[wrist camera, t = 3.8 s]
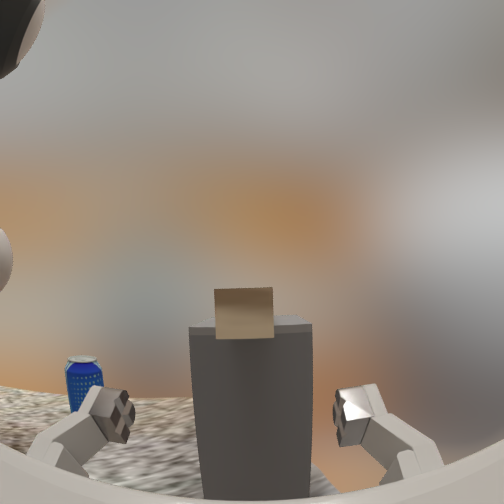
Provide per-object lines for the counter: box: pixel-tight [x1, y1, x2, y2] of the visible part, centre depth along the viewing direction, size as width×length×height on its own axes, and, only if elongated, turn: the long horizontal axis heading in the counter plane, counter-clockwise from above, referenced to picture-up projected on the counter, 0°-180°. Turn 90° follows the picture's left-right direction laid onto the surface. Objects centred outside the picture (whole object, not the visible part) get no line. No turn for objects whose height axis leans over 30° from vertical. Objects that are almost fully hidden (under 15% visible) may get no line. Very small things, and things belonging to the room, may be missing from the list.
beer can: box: [65, 356, 104, 413], centre depth 52 cm, size 8×8×16 cm
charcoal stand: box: [189, 315, 313, 501], centre depth 34 cm, size 14×12×26 cm
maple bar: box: [214, 287, 274, 339], centre depth 33 cm, size 24×4×4 cm, turn 178°
